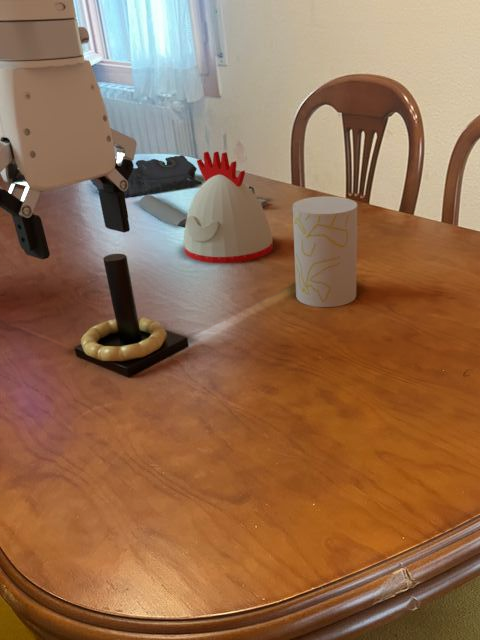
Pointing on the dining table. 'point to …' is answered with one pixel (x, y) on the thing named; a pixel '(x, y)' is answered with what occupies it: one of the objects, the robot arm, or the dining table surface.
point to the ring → (122, 352)
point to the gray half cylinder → (163, 211)
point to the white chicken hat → (225, 217)
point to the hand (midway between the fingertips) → (79, 242)
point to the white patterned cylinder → (325, 250)
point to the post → (129, 324)
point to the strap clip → (259, 199)
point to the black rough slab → (159, 176)
